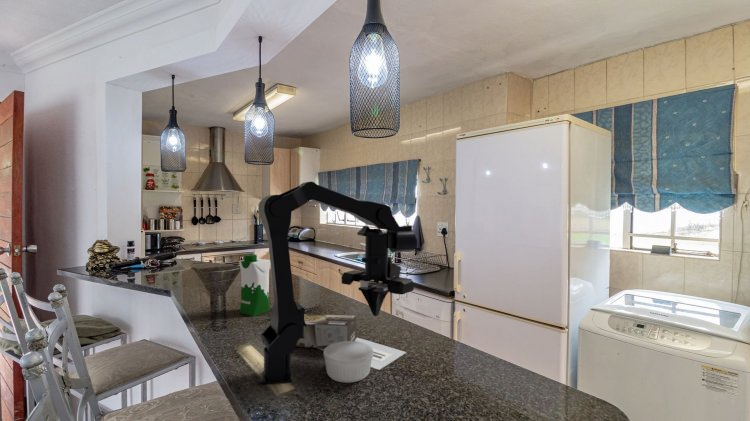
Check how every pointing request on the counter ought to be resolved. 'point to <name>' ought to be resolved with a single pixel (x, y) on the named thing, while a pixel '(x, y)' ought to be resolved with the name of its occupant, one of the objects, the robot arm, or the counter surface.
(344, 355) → the ramekin
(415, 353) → the counter surface
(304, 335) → the coffee box
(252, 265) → the milk carton
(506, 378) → the counter surface
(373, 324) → the counter surface
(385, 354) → the panel
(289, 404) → the counter surface
